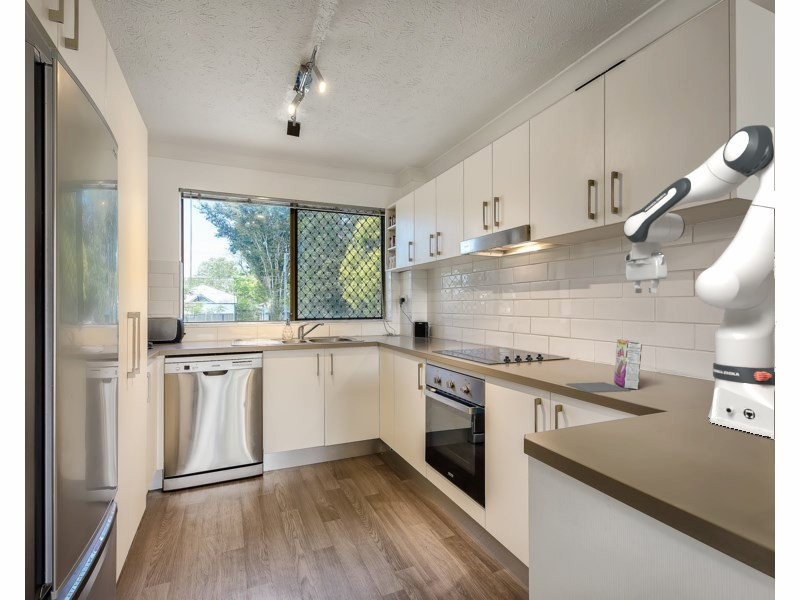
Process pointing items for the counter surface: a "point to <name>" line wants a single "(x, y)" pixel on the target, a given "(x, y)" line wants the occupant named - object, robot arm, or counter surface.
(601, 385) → the mat
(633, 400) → the counter surface
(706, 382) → the counter surface
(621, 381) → the candy bar box
